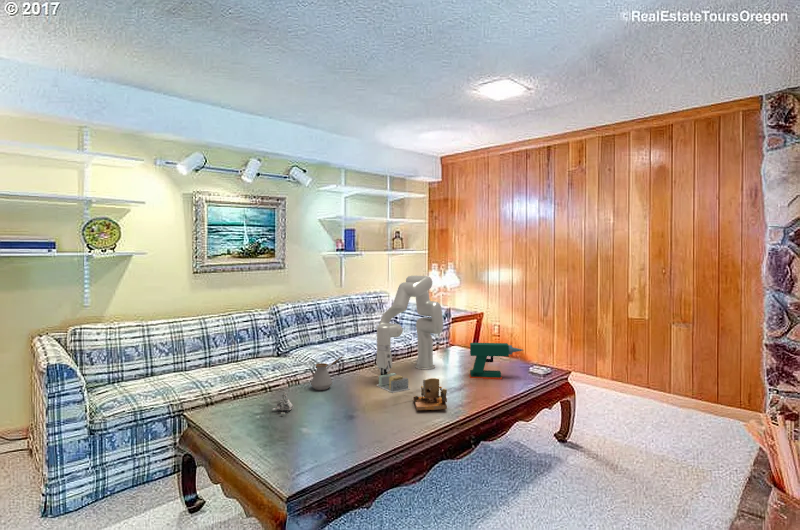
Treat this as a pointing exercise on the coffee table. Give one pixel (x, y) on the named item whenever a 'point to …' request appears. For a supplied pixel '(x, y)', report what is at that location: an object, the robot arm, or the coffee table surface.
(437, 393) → the armchair
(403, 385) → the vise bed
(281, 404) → the grey craggy lump
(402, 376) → the brass block
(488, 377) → the power tool
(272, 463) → the coffee table surface
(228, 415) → the coffee table surface
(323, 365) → the coffee pot
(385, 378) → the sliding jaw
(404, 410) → the coffee table surface
